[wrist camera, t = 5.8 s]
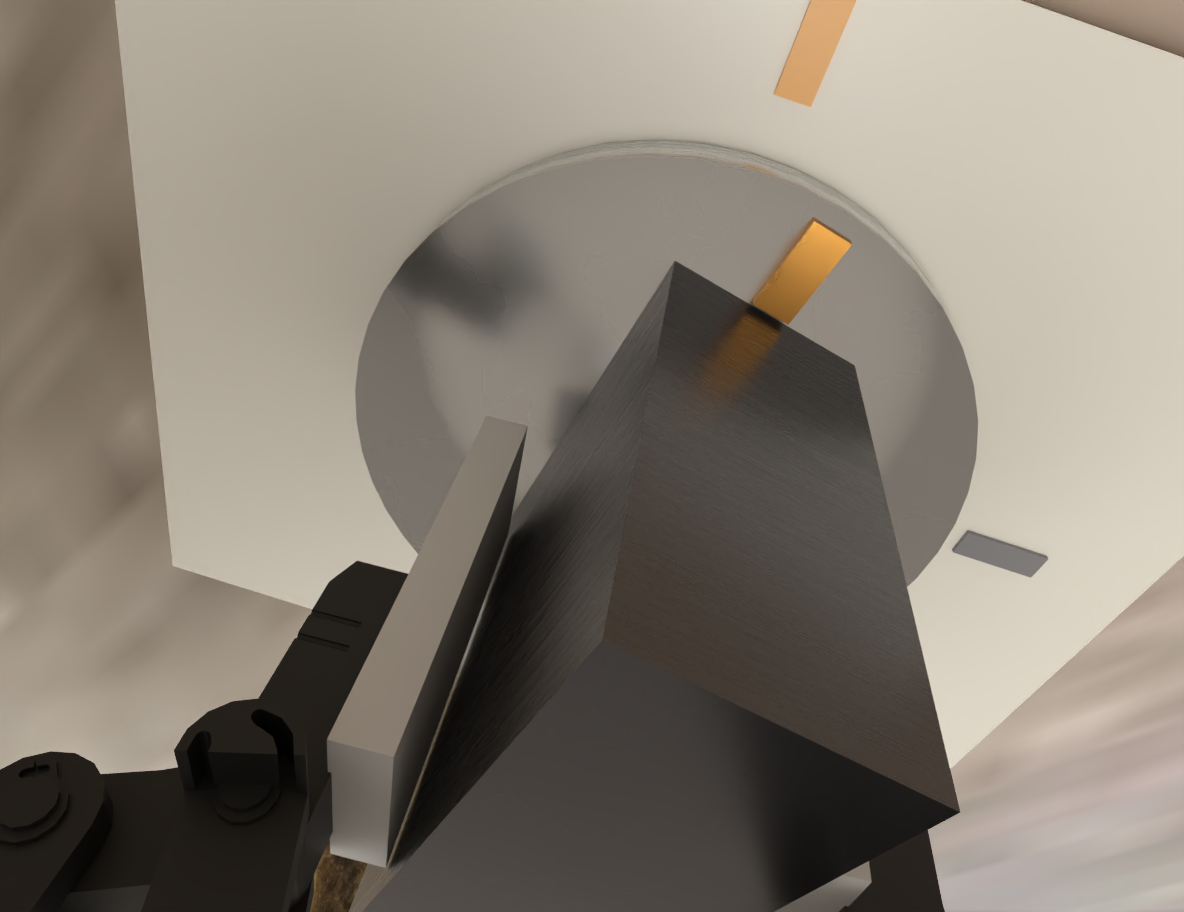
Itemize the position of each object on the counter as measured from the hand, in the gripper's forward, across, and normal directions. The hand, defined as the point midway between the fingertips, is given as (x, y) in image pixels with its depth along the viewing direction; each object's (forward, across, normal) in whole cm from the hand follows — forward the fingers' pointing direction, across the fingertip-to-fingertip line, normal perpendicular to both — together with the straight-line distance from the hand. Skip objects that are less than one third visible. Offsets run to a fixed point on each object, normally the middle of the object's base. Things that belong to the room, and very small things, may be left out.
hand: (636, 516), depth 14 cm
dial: (+2, 0, 0) cm, 2 cm away
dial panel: (+4, 0, 0) cm, 4 cm away
